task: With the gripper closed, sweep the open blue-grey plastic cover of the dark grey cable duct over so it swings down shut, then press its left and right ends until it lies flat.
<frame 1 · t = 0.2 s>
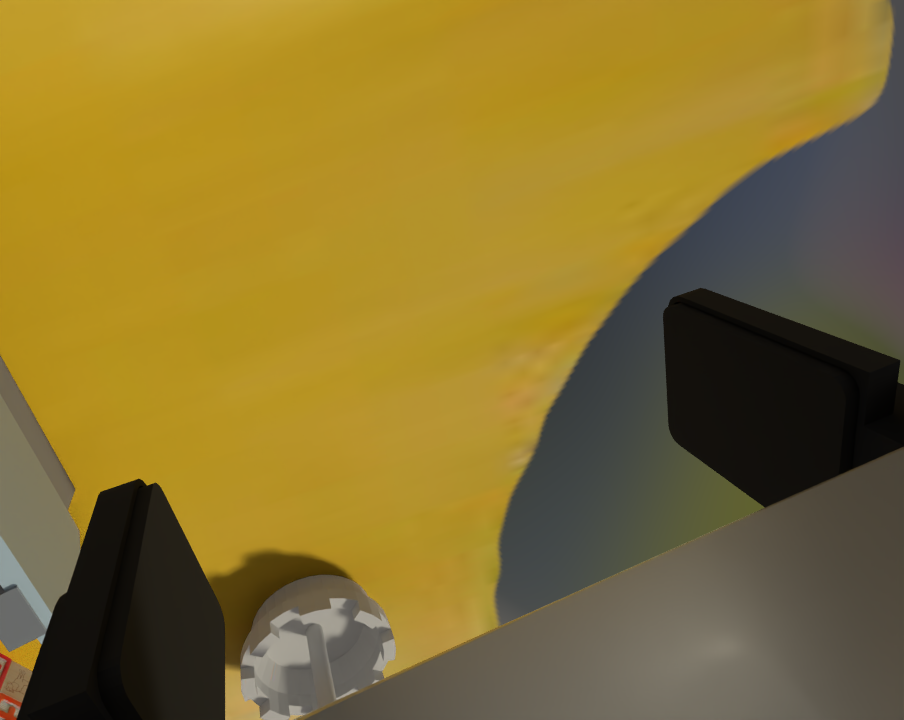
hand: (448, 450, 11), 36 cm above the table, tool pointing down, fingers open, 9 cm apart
stack of blocks: (30, 704, 51), on the table
flag stand: (312, 621, 57), on the table
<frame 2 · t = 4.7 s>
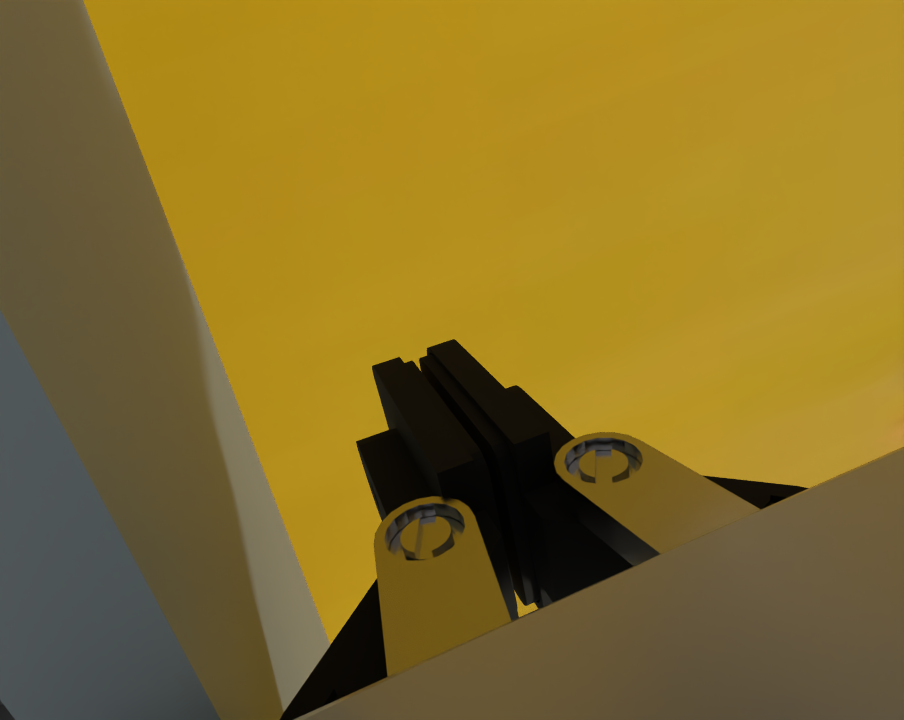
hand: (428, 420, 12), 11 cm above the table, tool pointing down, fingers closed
duct cover: (178, 507, 10), point 12 cm above the table, hinge at 93.3°, touching gripper
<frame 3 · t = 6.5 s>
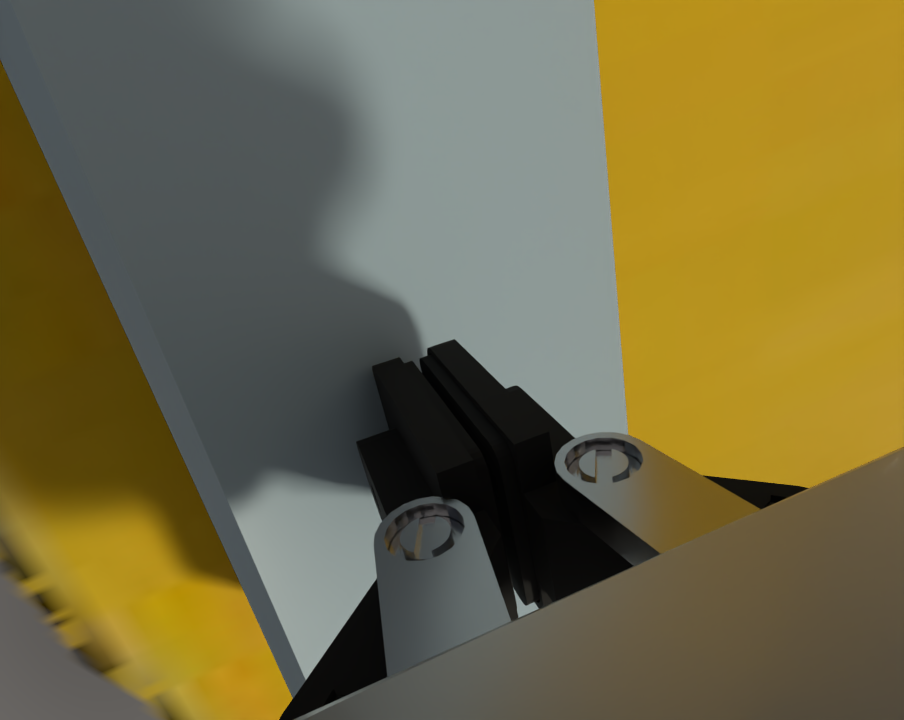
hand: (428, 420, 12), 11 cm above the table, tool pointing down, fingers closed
duct cover: (448, 355, 14), point 9 cm above the table, hinge at 31.6°, touching gripper
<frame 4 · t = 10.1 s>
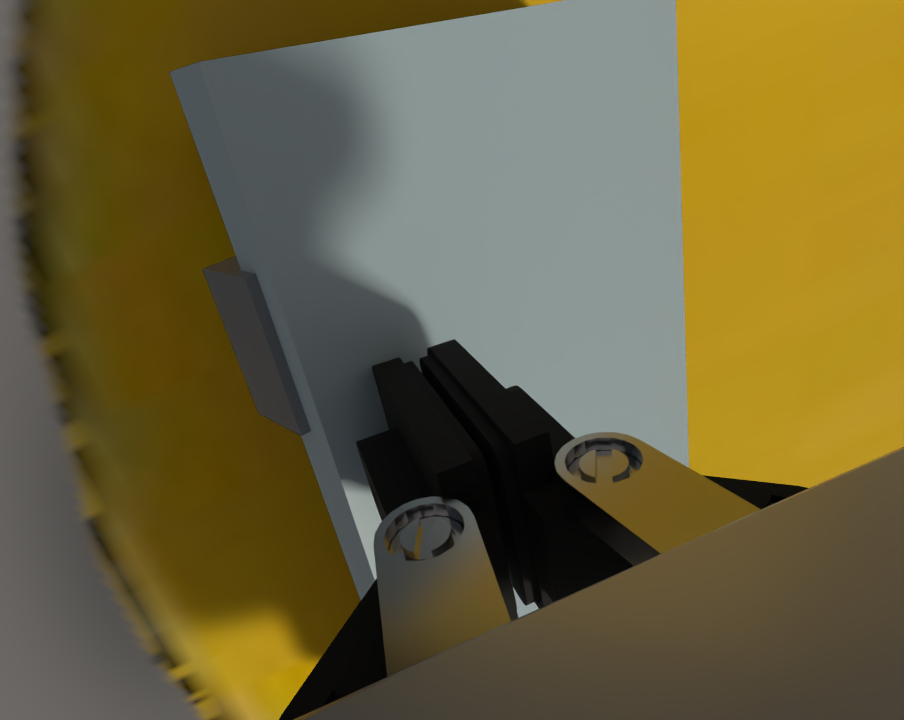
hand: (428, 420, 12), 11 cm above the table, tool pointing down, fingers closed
duct cover: (550, 525, 18), point 8 cm above the table, hinge at 26.3°, touching gripper
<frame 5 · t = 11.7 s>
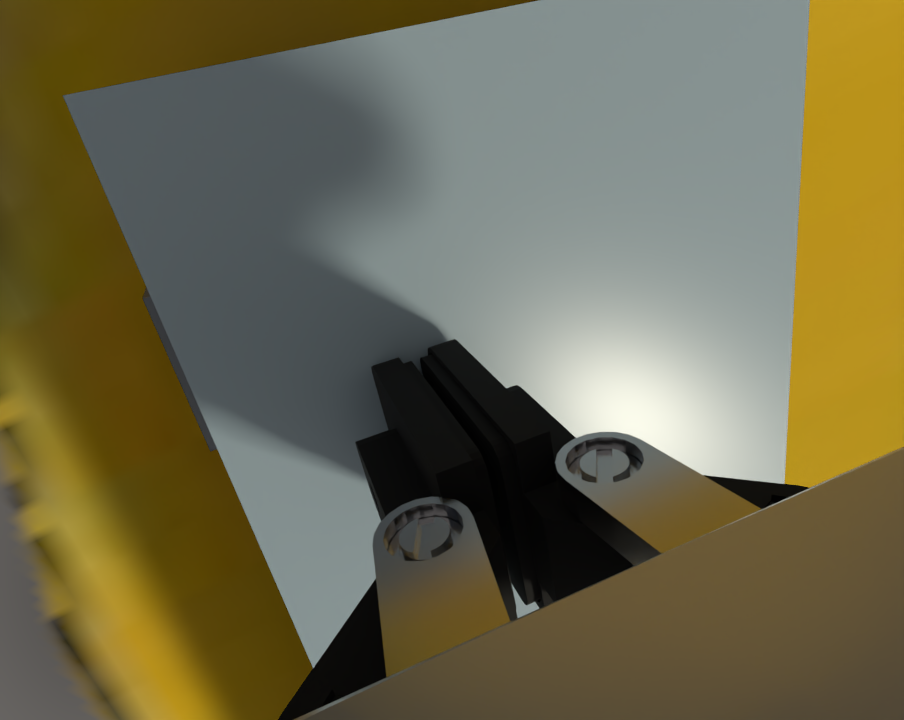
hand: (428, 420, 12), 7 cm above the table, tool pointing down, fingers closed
duct cover: (559, 581, 16), point 5 cm above the table, hinge at 2.1°
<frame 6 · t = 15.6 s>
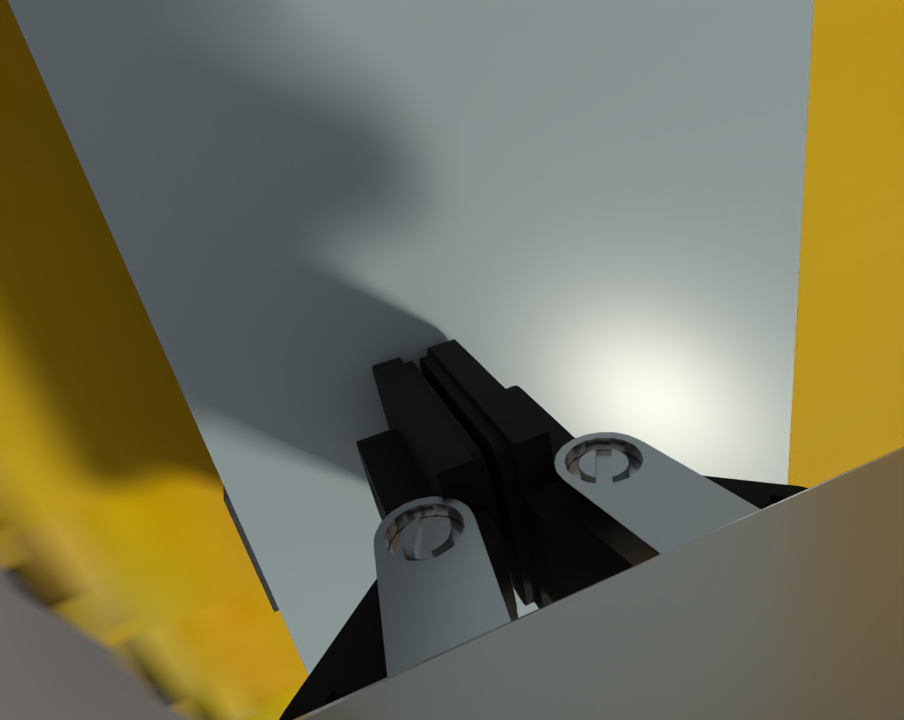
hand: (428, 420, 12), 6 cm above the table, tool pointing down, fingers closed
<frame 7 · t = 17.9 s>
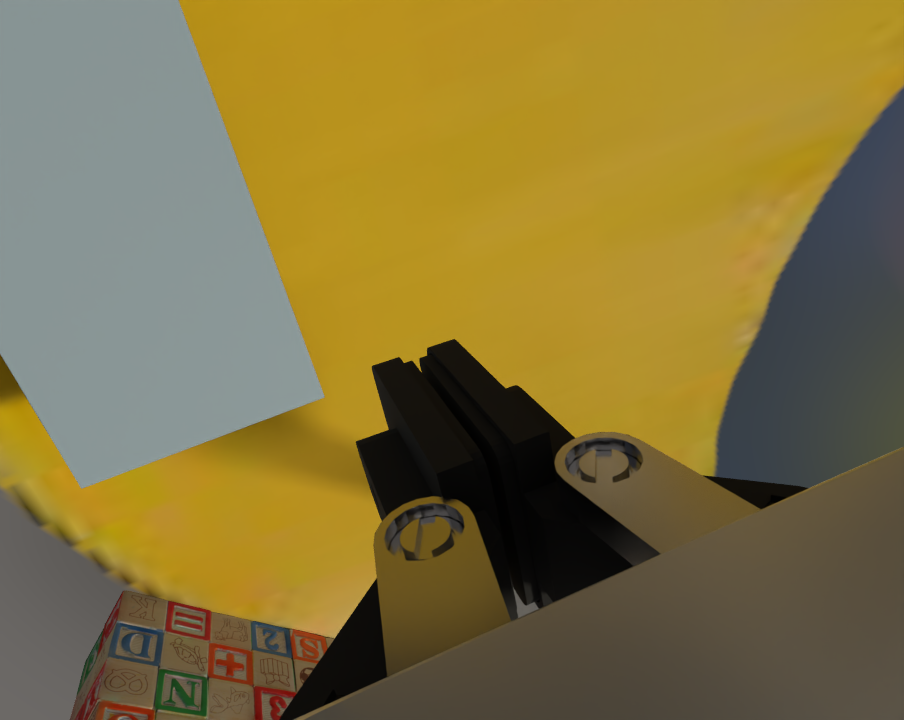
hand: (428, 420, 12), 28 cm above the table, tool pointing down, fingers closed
stack of blocks: (251, 653, 46), on the table
duct cover: (91, 189, 28), point 5 cm above the table, hinge at 0.8°
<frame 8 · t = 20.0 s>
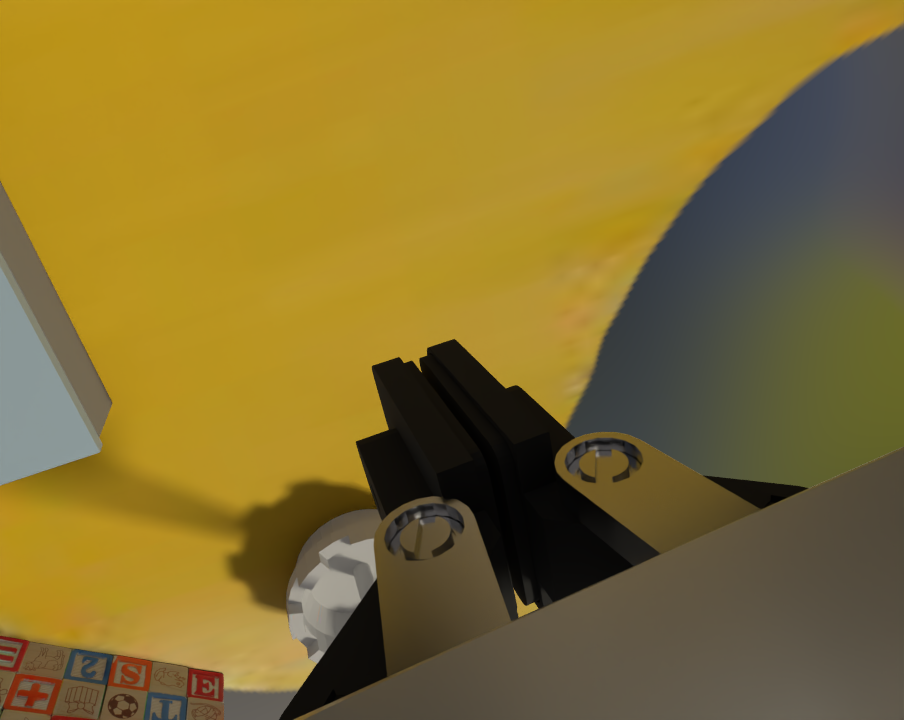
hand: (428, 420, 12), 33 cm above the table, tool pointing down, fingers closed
stack of blocks: (78, 677, 49), on the table
flag stand: (359, 561, 54), on the table
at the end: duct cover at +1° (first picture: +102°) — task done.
